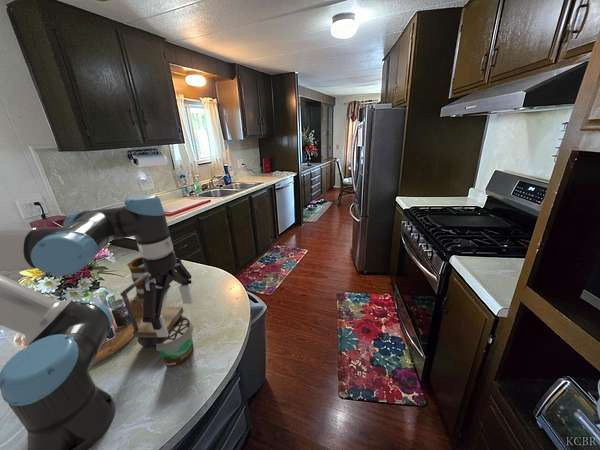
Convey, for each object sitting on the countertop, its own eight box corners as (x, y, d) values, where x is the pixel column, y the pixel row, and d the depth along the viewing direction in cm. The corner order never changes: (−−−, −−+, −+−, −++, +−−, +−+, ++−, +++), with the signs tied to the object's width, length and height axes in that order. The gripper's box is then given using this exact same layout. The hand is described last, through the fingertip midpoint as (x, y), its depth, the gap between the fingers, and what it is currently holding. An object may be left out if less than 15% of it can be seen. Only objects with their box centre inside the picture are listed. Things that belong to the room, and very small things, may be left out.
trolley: (167, 349, 78) (151, 293, 71) (138, 349, 79) (118, 293, 72) (186, 322, 90) (173, 272, 82) (160, 322, 90) (145, 272, 83)
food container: (181, 374, 70) (173, 348, 66) (163, 371, 71) (154, 345, 68) (205, 341, 81) (199, 317, 78) (189, 338, 82) (183, 315, 79)
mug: (168, 294, 107) (160, 264, 101) (133, 302, 102) (122, 271, 97) (172, 273, 124) (166, 246, 119) (142, 279, 119) (134, 252, 114)
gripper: (139, 280, 52) (164, 354, 59) (194, 234, 75) (206, 291, 83) (106, 280, 52) (135, 353, 60) (170, 235, 76) (185, 292, 83)
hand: (176, 318), depth 71 cm, fingers open, 13 cm apart
